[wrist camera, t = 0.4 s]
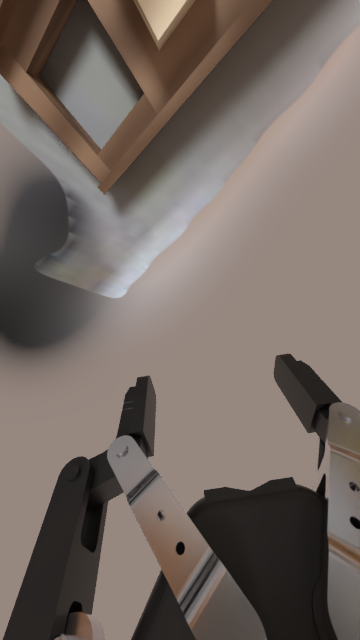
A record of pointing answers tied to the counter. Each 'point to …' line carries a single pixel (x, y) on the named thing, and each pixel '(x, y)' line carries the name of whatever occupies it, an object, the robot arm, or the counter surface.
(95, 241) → the counter surface
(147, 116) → the walnut track
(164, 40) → the maple block
